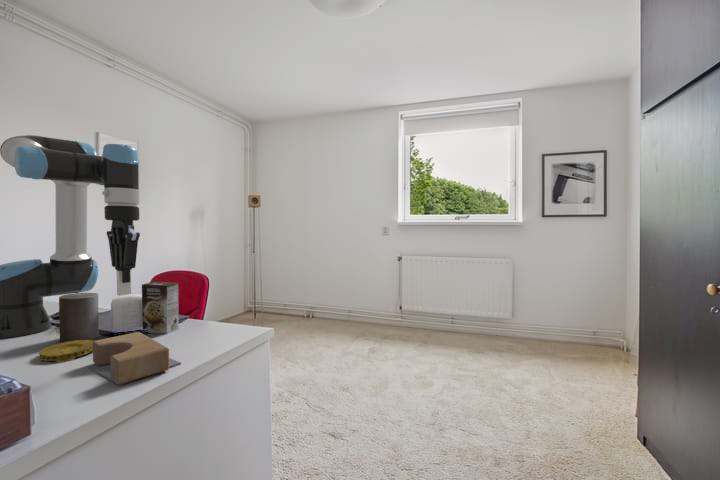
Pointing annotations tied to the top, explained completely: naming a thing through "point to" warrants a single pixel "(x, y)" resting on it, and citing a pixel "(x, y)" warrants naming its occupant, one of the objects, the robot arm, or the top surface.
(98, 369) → the mat
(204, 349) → the top surface
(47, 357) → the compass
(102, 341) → the decorative block
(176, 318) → the coffee box
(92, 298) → the pillar candle
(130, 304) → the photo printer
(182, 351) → the top surface
